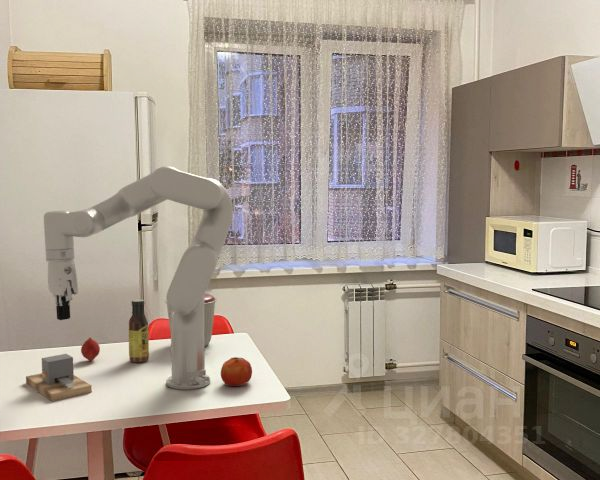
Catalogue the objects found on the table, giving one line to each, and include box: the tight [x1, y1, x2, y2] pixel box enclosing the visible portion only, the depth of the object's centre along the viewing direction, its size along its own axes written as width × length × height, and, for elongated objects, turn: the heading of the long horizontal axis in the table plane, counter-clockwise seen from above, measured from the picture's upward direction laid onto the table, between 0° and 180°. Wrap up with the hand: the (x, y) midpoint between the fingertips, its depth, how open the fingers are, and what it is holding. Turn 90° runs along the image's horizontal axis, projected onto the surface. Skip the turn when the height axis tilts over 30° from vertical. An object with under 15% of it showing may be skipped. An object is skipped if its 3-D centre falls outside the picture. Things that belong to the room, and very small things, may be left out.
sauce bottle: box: [128, 299, 150, 363], centre depth 210 cm, size 7×6×20 cm
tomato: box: [220, 357, 253, 387], centre depth 188 cm, size 9×9×8 cm
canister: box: [164, 292, 218, 347], centre depth 229 cm, size 18×18×21 cm
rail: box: [54, 376, 75, 389], centre depth 185 cm, size 18×2×2 cm, turn 41°
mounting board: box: [25, 372, 92, 402], centre depth 185 cm, size 20×11×2 cm, turn 41°
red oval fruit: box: [80, 336, 101, 362], centre depth 211 cm, size 6×6×8 cm
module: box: [41, 353, 75, 385], centre depth 184 cm, size 5×8×7 cm, turn 131°
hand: (63, 318), depth 185 cm, fingers closed
